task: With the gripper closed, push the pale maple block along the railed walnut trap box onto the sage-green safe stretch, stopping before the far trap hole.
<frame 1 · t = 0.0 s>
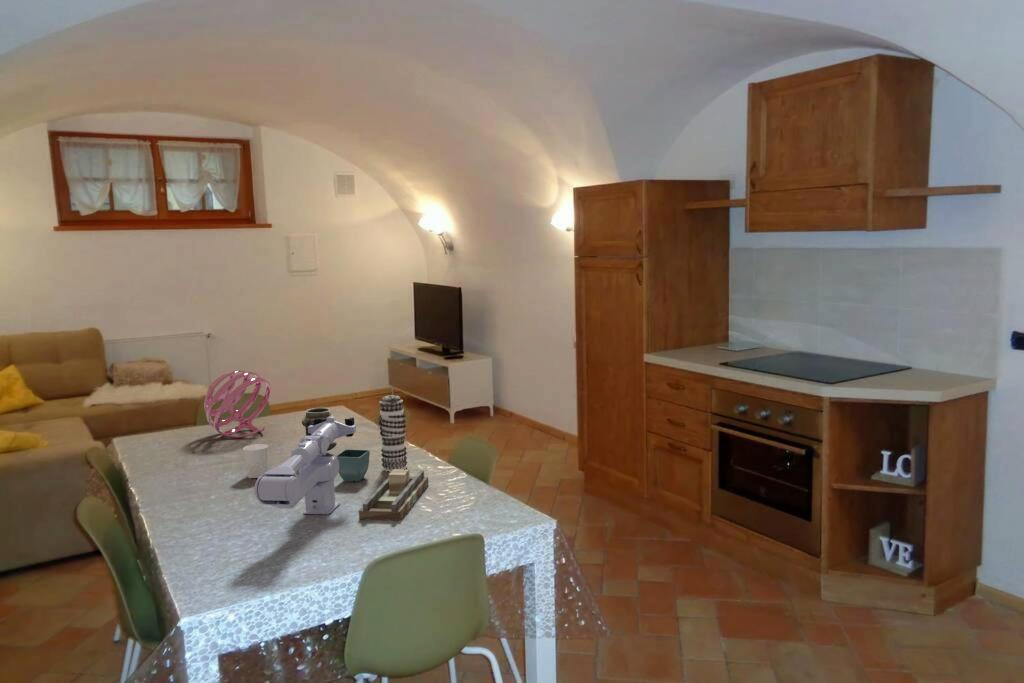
hand: (341, 420, 243), 22 cm above the table, tool horizontal, fingers open, 7 cm apart
black and white cylinder: (395, 468, 265), on the table
trap box: (396, 499, 232), on the table
maple block: (399, 487, 235), point 2 cm above the table, touching trap box
apothecary jar: (320, 459, 280), on the table
pink slatted sphere: (240, 434, 321), on the table
flower pot: (354, 480, 254), on the table
white cup: (257, 476, 262), on the table
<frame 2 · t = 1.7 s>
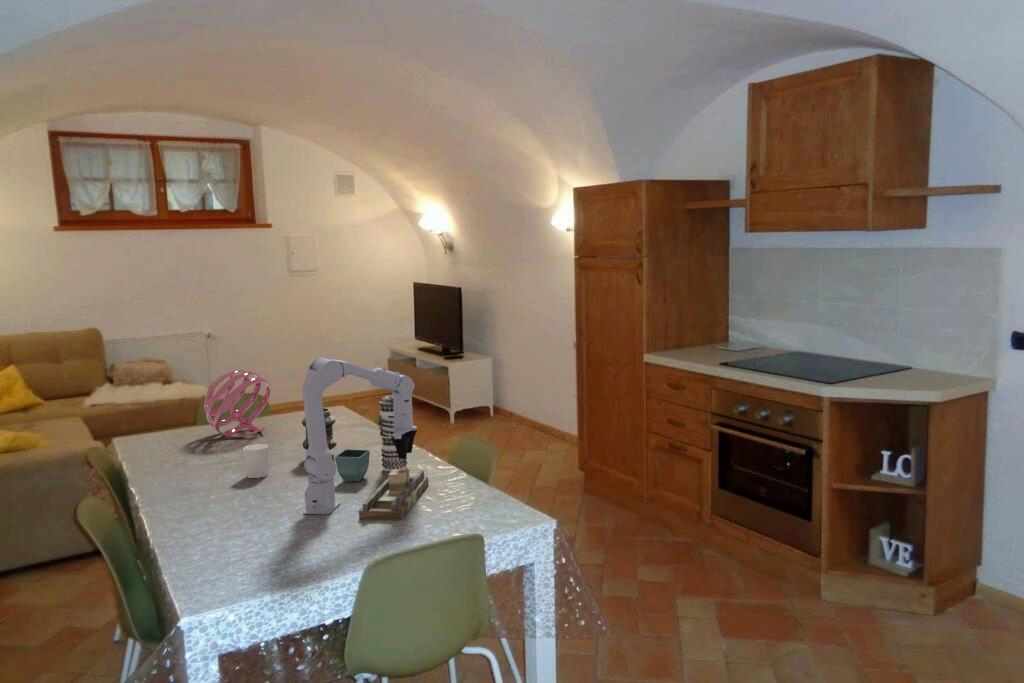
hand: (405, 455, 242), 10 cm above the table, tool pointing down, fingers open, 6 cm apart
nothing on the table moved.
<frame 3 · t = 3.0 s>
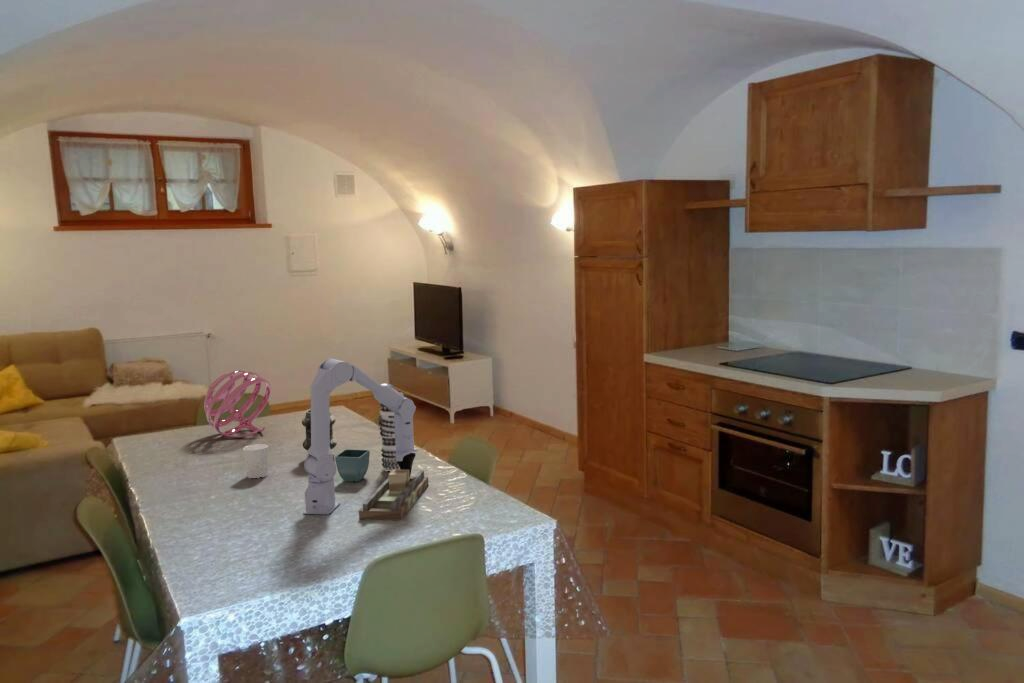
hand: (406, 477, 243), 3 cm above the table, tool pointing down, fingers closed
nothing on the table moved.
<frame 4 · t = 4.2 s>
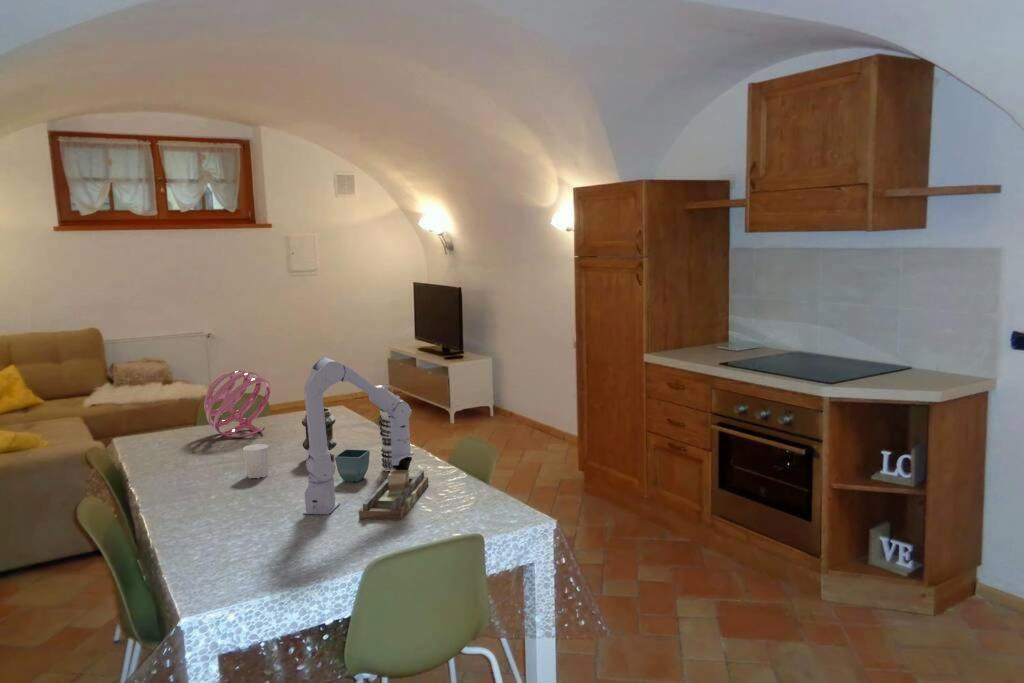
hand: (402, 481, 239), 3 cm above the table, tool pointing down, fingers closed
maple block: (399, 488, 235), point 3 cm above the table, touching gripper
everything else where it was.
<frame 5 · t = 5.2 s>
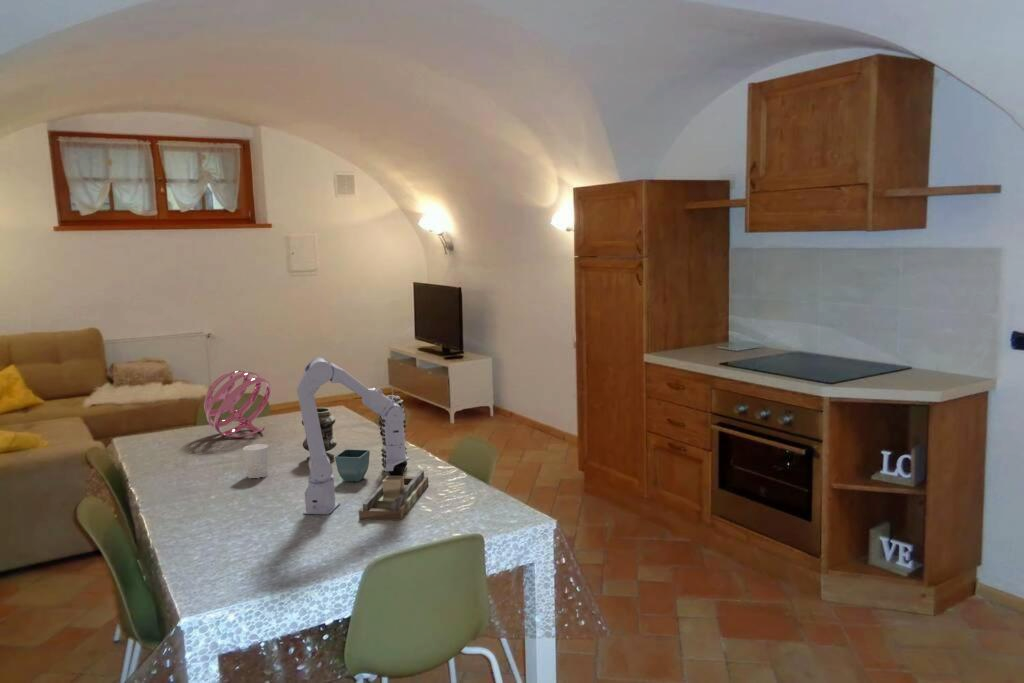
hand: (397, 487, 233), 3 cm above the table, tool pointing down, fingers closed
maple block: (394, 494, 229), point 3 cm above the table, touching gripper, trap box
everything else where it was.
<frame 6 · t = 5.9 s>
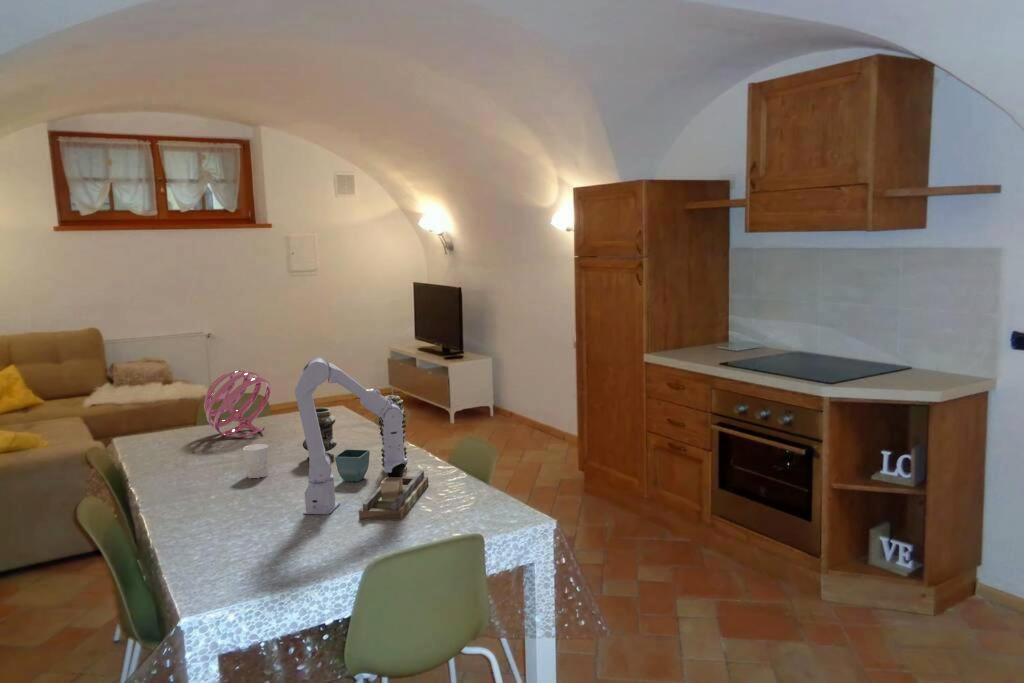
hand: (396, 488, 232), 3 cm above the table, tool pointing down, fingers closed
maple block: (392, 496, 228), point 3 cm above the table, touching gripper, trap box
everything else where it was.
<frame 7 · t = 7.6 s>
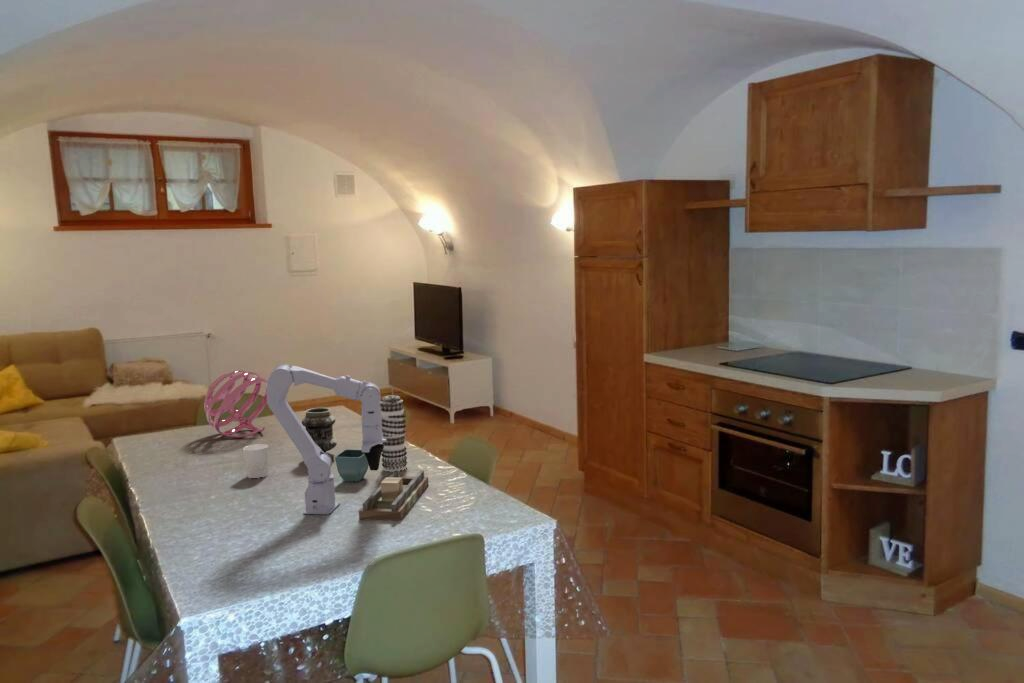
hand: (374, 469, 228), 10 cm above the table, tool pointing down, fingers closed
maple block: (392, 496, 228), point 2 cm above the table, touching trap box
everything else where it was.
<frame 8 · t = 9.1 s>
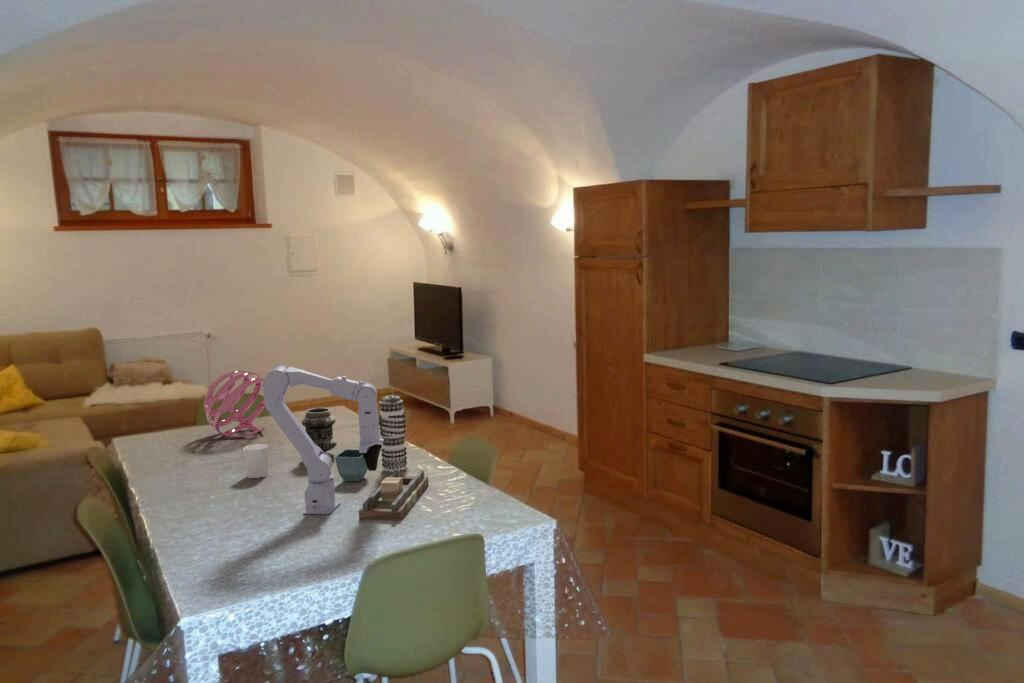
hand: (372, 470, 228), 10 cm above the table, tool pointing down, fingers closed
nothing on the table moved.
at the end: maple block inside the target area (1.5 cm from its centre), point 2.5 cm above the table; maple block tilted 0°; maple block moved 7.9 cm from its start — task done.
